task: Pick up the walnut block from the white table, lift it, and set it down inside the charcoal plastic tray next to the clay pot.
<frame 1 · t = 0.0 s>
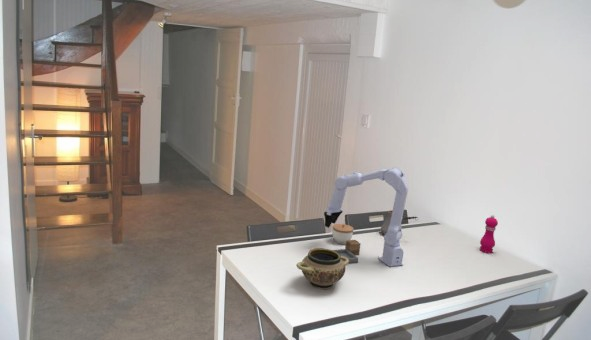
hand: (329, 224, 226), 11 cm above the table, tool pointing down, fingers open, 7 cm apart
pepper mill: (485, 251, 240), on the table
ceramic bowl: (321, 284, 185), on the table
tray: (341, 258, 212), on the table
lidded jar: (341, 241, 234), on the table
walnut block: (351, 253, 220), on the table
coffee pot: (397, 237, 248), on the table
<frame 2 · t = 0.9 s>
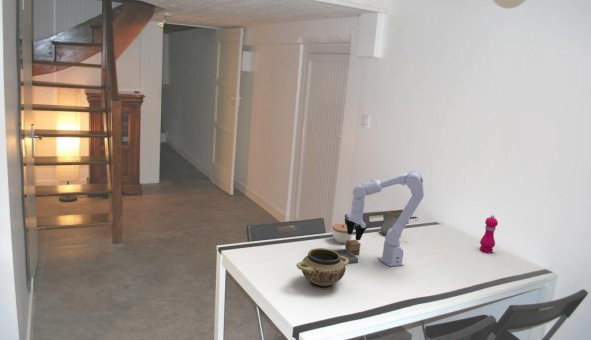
hand: (353, 237, 218), 8 cm above the table, tool pointing down, fingers open, 7 cm apart
nothing on the table moved.
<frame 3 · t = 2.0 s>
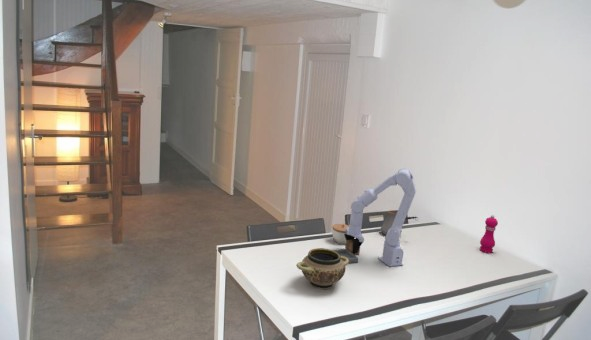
hand: (352, 250, 219), 1 cm above the table, tool pointing down, fingers closed on walnut block, 5 cm apart
walnut block: (351, 253, 220), on the table, touching gripper
everything else where it was.
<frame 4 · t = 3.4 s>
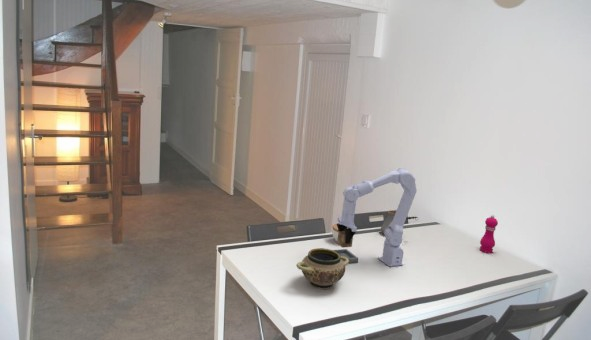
hand: (344, 241, 211), 8 cm above the table, tool pointing down, fingers closed on walnut block, 5 cm apart
walnut block: (344, 245, 211), point 6 cm above the table, touching gripper
everything else where it was.
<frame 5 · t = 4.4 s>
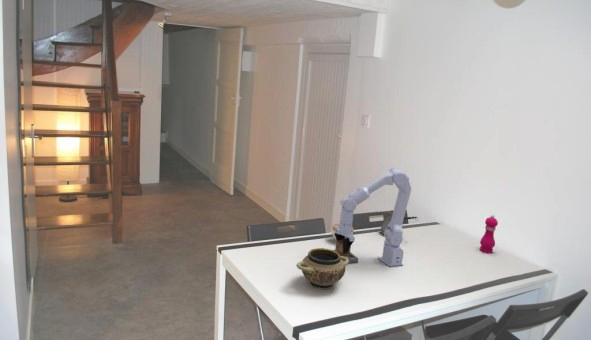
hand: (342, 250, 211), 4 cm above the table, tool pointing down, fingers closed on walnut block, 5 cm apart
walnut block: (342, 254, 211), point 2 cm above the table, touching gripper
everything else where it was.
when the fingers open (4 cm above the table, at t = 4.8 s): walnut block drops 1 cm, resting on tray.
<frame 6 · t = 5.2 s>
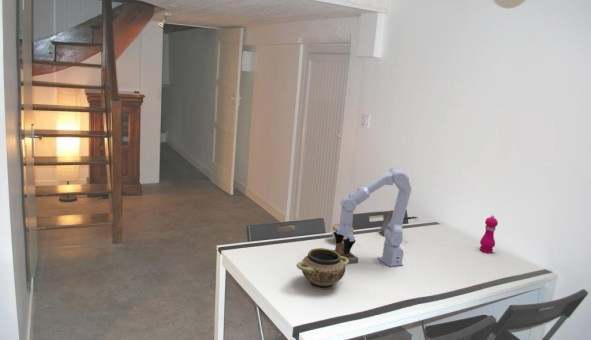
hand: (342, 250, 211), 4 cm above the table, tool pointing down, fingers open, 7 cm apart
walnut block: (341, 257, 212), point 1 cm above the table, touching tray
everything else where it was.
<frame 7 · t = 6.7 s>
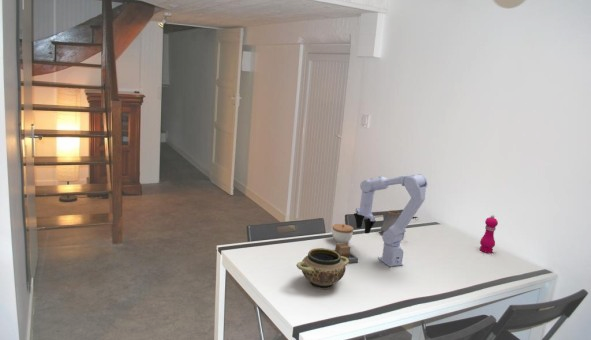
hand: (362, 230, 224), 10 cm above the table, tool pointing down, fingers open, 7 cm apart
nothing on the table moved.
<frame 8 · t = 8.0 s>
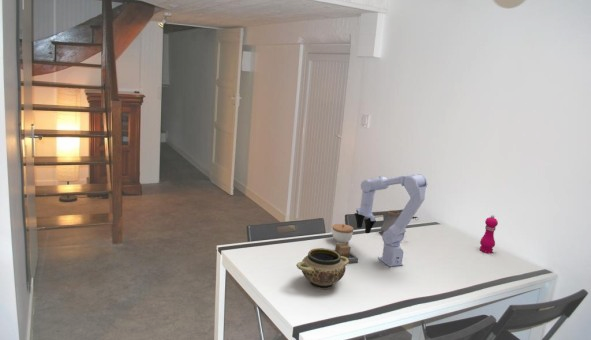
hand: (363, 230, 224), 10 cm above the table, tool pointing down, fingers open, 7 cm apart
nothing on the table moved.
at the end: walnut block inside the target area on the tray (0.0 cm from its centre), point 0.8 cm above the tray's base; walnut block tilted 0°; the gripper is holding nothing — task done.
